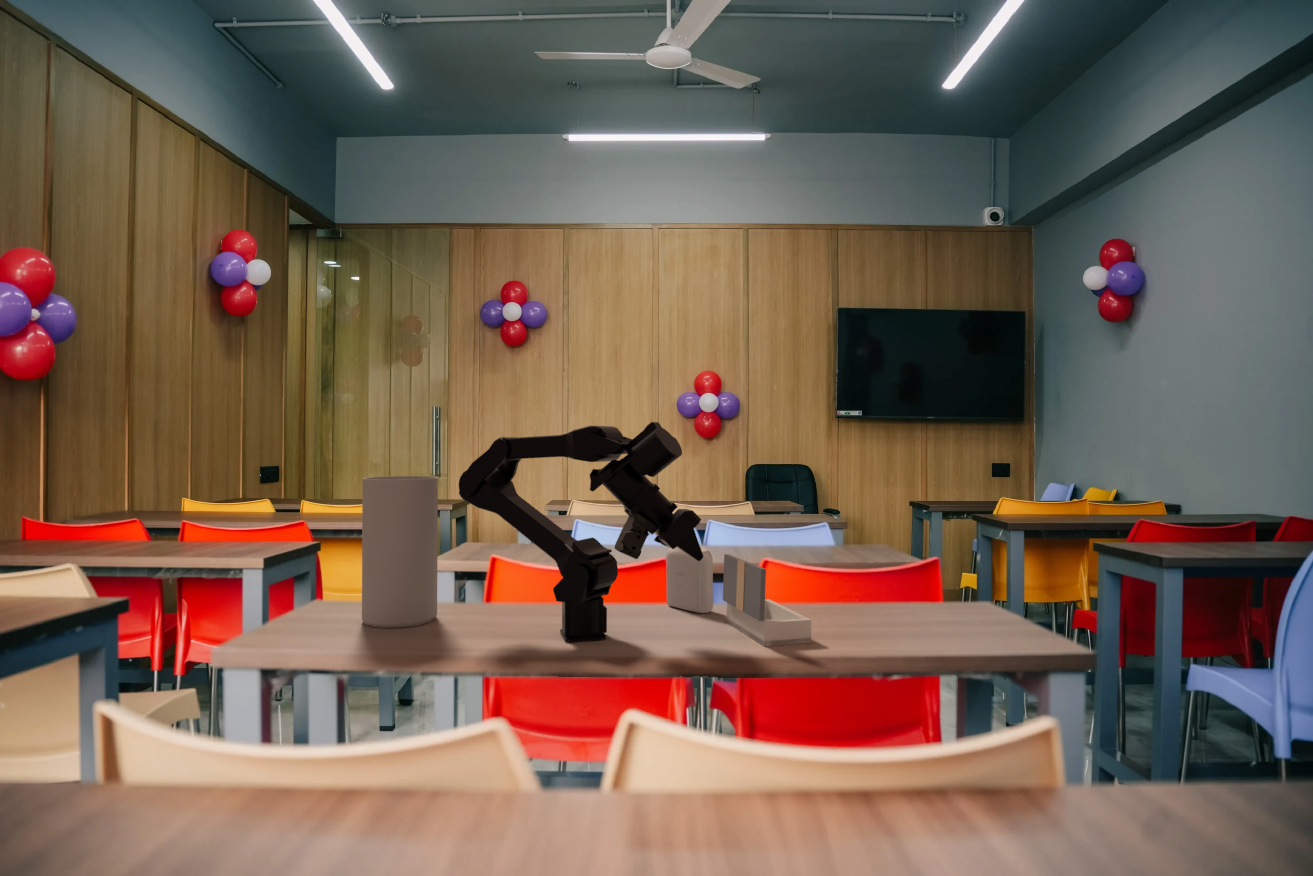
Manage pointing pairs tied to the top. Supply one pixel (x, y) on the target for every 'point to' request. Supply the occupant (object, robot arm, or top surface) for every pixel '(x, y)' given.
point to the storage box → (772, 625)
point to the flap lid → (744, 586)
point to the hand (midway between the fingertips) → (700, 559)
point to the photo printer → (689, 580)
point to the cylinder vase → (399, 550)
